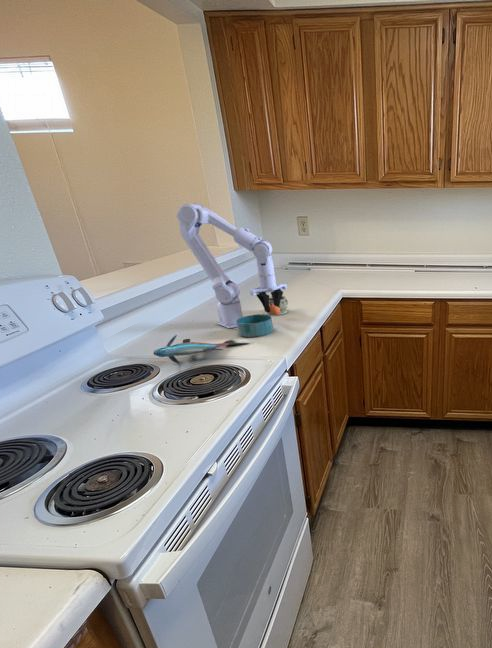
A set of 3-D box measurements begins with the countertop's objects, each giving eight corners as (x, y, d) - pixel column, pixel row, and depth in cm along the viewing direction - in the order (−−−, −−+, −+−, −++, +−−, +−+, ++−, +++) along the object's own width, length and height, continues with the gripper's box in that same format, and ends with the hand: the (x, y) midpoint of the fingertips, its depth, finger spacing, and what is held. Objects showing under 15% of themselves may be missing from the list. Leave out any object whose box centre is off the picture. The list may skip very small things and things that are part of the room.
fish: (139, 363, 121) (168, 372, 114) (137, 334, 119) (166, 342, 112) (230, 351, 146) (258, 358, 139) (229, 327, 144) (258, 333, 137)
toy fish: (261, 313, 162) (259, 302, 160) (269, 311, 165) (267, 300, 163) (274, 317, 157) (272, 305, 155) (282, 314, 159) (281, 303, 157)
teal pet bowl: (232, 333, 150) (229, 320, 148) (262, 325, 158) (260, 312, 156) (249, 340, 143) (247, 326, 141) (280, 331, 151) (277, 318, 149)
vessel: (281, 308, 181) (279, 293, 179) (295, 310, 177) (293, 295, 174) (259, 314, 172) (256, 300, 170) (274, 317, 168) (271, 302, 165)
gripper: (254, 279, 147) (261, 316, 152) (289, 273, 156) (294, 308, 162) (244, 277, 151) (251, 313, 156) (279, 271, 161) (284, 305, 166)
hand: (272, 310), depth 159 cm, fingers closed on toy fish, 3 cm apart
